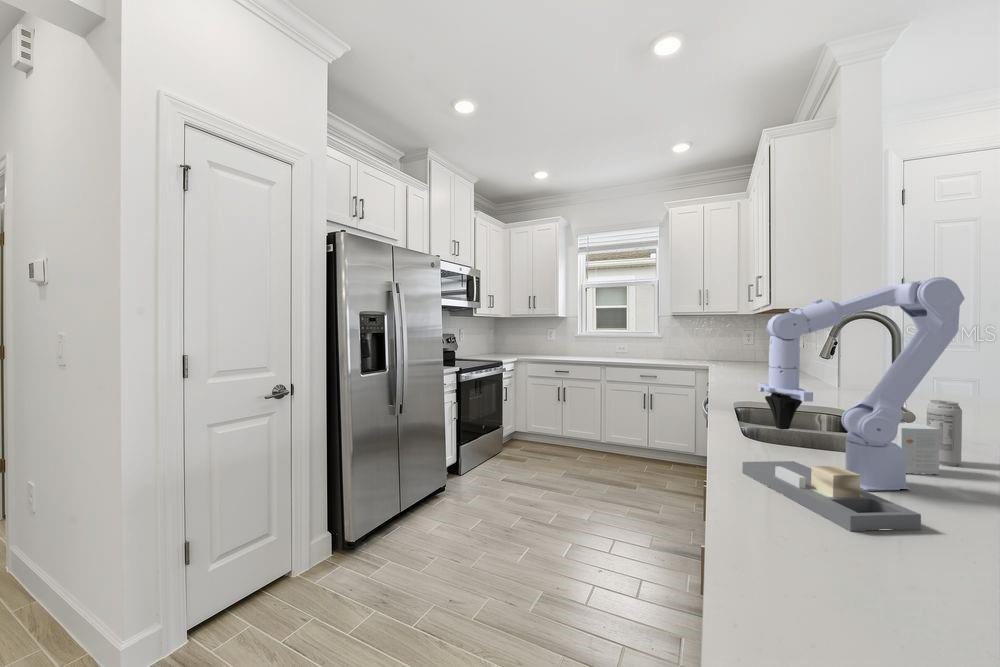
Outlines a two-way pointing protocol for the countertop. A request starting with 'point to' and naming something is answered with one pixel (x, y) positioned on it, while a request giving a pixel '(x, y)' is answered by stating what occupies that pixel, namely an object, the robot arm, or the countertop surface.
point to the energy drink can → (947, 429)
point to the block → (835, 481)
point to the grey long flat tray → (832, 499)
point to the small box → (919, 447)
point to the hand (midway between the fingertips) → (782, 428)
